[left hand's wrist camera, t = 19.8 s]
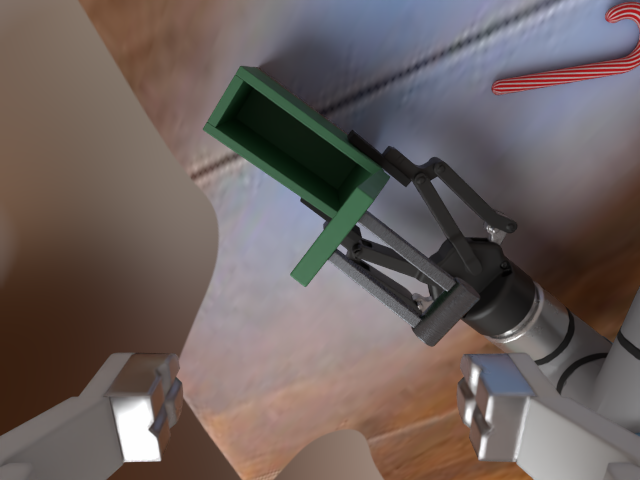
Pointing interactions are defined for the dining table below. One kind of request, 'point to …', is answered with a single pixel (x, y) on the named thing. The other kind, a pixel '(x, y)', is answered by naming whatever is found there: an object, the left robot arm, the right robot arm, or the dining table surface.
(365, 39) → the dining table surface
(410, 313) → the lid
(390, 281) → the right robot arm
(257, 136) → the chest
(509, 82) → the candy cane
